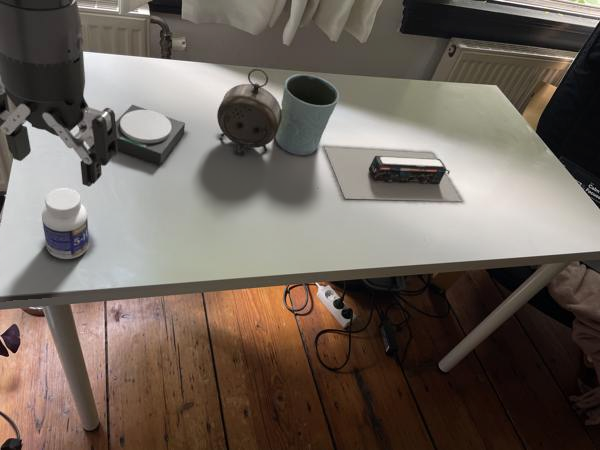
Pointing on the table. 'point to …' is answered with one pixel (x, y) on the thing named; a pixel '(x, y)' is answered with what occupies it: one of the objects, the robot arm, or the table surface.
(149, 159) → the scale
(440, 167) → the grey flat tray
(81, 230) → the pill bottle
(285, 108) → the teal ceramic cup
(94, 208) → the table surface
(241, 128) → the alarm clock
